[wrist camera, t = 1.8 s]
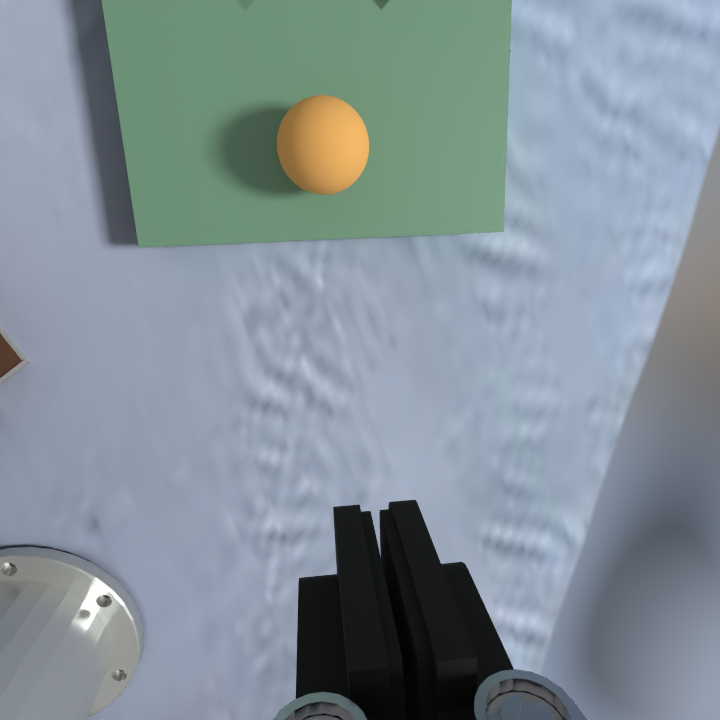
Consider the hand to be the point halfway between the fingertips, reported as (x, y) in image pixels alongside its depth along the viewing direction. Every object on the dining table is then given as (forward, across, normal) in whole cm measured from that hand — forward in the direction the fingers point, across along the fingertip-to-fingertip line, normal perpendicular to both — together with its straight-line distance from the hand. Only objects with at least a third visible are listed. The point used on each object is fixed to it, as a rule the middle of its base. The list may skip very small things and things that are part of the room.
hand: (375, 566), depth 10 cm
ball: (+15, 0, -10) cm, 18 cm away
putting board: (+19, 0, -16) cm, 25 cm away
